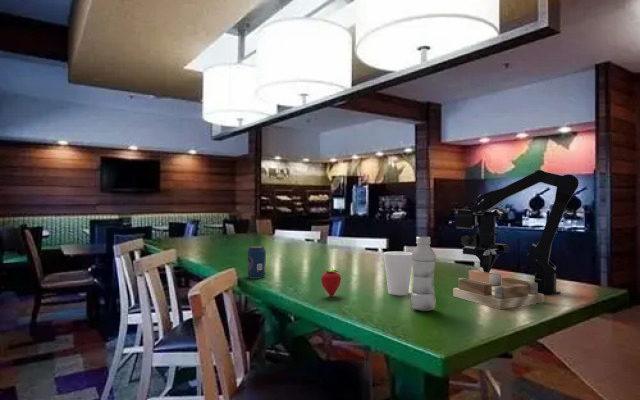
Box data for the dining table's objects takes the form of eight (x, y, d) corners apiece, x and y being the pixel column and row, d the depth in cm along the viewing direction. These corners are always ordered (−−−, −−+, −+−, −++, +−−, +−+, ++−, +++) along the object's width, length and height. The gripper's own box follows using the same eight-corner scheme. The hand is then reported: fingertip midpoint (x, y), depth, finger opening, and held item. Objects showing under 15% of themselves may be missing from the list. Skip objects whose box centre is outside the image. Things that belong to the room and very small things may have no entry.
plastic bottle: (417, 306, 120) (417, 235, 120) (439, 310, 115) (439, 237, 115) (406, 310, 115) (406, 237, 115) (429, 314, 110) (429, 238, 110)
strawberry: (317, 297, 130) (317, 265, 130) (328, 293, 137) (328, 262, 137) (334, 299, 127) (334, 266, 127) (344, 295, 134) (344, 263, 134)
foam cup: (391, 297, 131) (391, 255, 131) (379, 291, 140) (379, 252, 140) (418, 295, 134) (418, 254, 134) (405, 289, 143) (405, 251, 143)
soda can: (245, 276, 167) (245, 246, 168) (261, 275, 171) (262, 245, 171) (251, 279, 161) (251, 247, 161) (268, 277, 165) (268, 247, 165)
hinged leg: (503, 284, 137) (503, 274, 137) (495, 285, 135) (495, 275, 135) (475, 278, 147) (475, 269, 147) (468, 279, 146) (468, 270, 146)
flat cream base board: (494, 291, 140) (494, 274, 140) (543, 302, 124) (543, 283, 124) (453, 296, 133) (453, 278, 133) (499, 309, 116) (499, 288, 116)
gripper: (483, 227, 159) (483, 268, 159) (450, 228, 149) (450, 273, 149) (510, 228, 150) (510, 272, 150) (477, 230, 140) (476, 277, 140)
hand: (486, 273), depth 147 cm, fingers closed
